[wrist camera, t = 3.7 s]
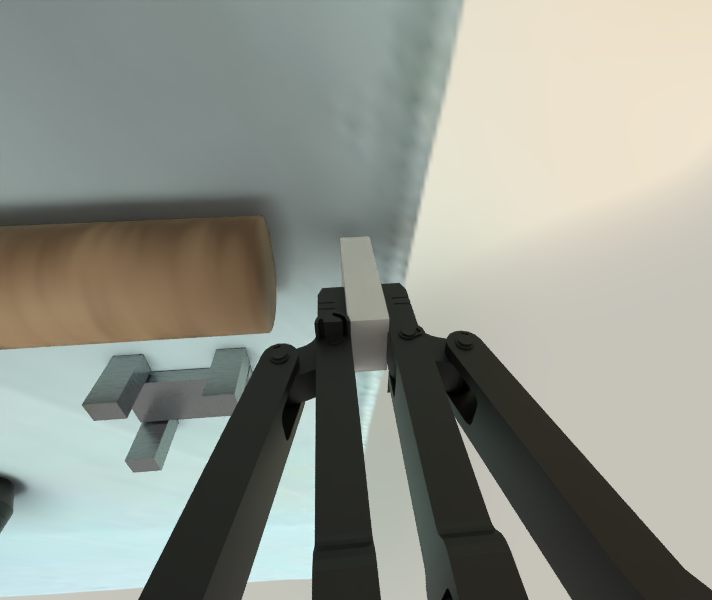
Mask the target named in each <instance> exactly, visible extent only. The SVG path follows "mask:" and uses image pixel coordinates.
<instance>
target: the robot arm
mask: <svg viewBox="0 0 712 600" xmlns="http://www.w3.org/2000/svg"><path fill="white" fill-rule="evenodd" d="M340 247H341V270H342V287H335V288H322V290H321V291H320V293H319V294H318V317H317V318H316V320H315V323H314V324H315V333H316V338H315V339H314V340H313V341H312V342H311V343H310V344H308V345H306V346H303V347H301V348H297V349H296V348H295V347H293V346H292V345H289V344H276V345H273V346H271V347H269V348H268V349H266V350H265V351H264V353H263V354H262V356H261V358H260V360H259V362H258V364H257V366H256V368H255V369H254V371H253V373H252V375H251V377H250V379H249V381H248V383H247V385H246V387H245V389H244V391H243V393H242V395H241V397H240V399H239V401H238V403H237V405H236V407H235V409H234V411H233V413H232V415H231V417H230V419H229V421H228V423H227V425H226V427H225V429H224V431H223V433H222V435H221V437H220V439H219V441H218V443H217V445H216V447H215V449H214V451H213V453H212V455H211V457H210V459H209V461H208V463H207V464H206V466H205V468H204V470H203V472H202V474H201V476H200V478H199V480H198V482H197V484H196V486H195V488H194V490H193V492H192V494H191V496H190V498H189V500H188V502H187V504H186V506H185V508H184V510H183V512H182V514H181V516H180V518H179V520H178V522H177V524H176V526H175V528H174V530H173V532H172V534H171V536H170V538H169V540H168V542H167V544H166V546H165V548H164V550H163V552H162V554H161V556H160V558H159V560H158V561H157V563H156V565H155V567H154V569H153V571H152V573H151V575H150V577H149V579H148V581H147V583H146V585H145V587H144V589H143V591H142V593H141V596H140V597H139V599H138V600H241V599H242V596H243V593H244V590H245V587H246V584H247V581H248V578H249V575H250V572H251V568H252V565H253V562H254V559H255V556H256V553H257V550H258V547H259V544H260V541H261V538H262V534H263V531H264V528H265V525H266V522H267V519H268V516H269V513H270V510H271V507H272V504H273V501H274V497H275V494H276V491H277V488H278V485H279V482H280V479H281V476H282V473H283V470H284V467H285V463H286V460H287V457H288V454H289V451H290V448H291V445H292V442H293V439H294V436H295V433H296V430H297V426H298V423H299V420H300V417H301V414H302V411H303V408H304V405H305V401H307V400H310V399H312V398H315V397H316V448H315V546H314V551H313V566H312V600H381V596H380V588H379V578H378V569H377V560H376V553H375V547H374V542H373V536H372V528H371V519H370V509H369V500H368V491H367V481H366V472H365V463H364V453H363V444H362V435H361V425H360V416H359V407H358V397H357V388H356V379H355V372H362V371H376V370H387V365H388V369H389V376H388V377H389V378H388V392H391V397H392V402H393V407H394V412H395V417H396V423H397V428H398V433H399V438H400V442H401V448H402V454H403V459H404V464H405V469H406V474H407V479H408V484H409V489H410V495H411V500H412V505H413V510H414V515H415V521H416V526H417V531H418V536H419V541H420V546H421V551H422V556H423V562H424V567H425V575H426V591H427V599H428V600H528V597H527V594H526V591H525V589H524V586H523V583H522V581H521V578H520V575H519V572H518V569H517V567H516V564H515V561H514V558H513V556H512V553H511V551H510V548H509V546H508V544H507V541H506V540H505V538H504V537H503V535H502V534H501V533H500V532H499V531H497V530H496V529H495V528H494V526H493V525H492V523H491V520H490V517H489V514H488V512H487V509H486V506H485V503H484V500H483V497H482V494H481V491H480V489H479V486H478V483H477V480H476V477H475V474H474V471H473V469H472V466H471V463H470V460H469V457H468V454H467V451H466V448H465V445H464V443H463V440H462V437H461V434H460V431H459V428H458V425H457V422H456V420H455V418H456V419H457V421H458V423H459V424H460V426H461V427H462V429H463V430H464V432H465V433H466V435H467V437H468V438H469V440H470V441H471V443H472V444H473V446H474V447H475V449H476V450H477V452H478V454H479V455H480V457H481V458H482V460H483V461H484V463H485V465H486V466H487V468H488V469H489V471H490V472H491V474H492V476H493V477H494V479H495V480H496V482H497V483H498V485H499V486H500V488H501V489H502V491H503V493H504V494H505V496H506V497H507V499H508V500H509V502H510V504H511V505H512V507H513V508H514V510H515V511H516V513H517V514H518V516H519V518H520V519H521V521H522V522H523V524H524V525H525V527H526V529H527V530H528V532H529V533H530V535H531V536H532V538H533V539H534V541H535V542H536V544H537V545H538V547H539V549H540V550H541V552H542V554H543V555H544V556H545V558H546V559H547V561H548V563H549V564H550V566H551V567H552V569H553V570H554V572H555V574H556V575H557V577H558V578H559V580H560V582H561V583H562V585H563V586H564V588H565V589H566V591H567V593H568V594H569V596H570V597H571V599H572V600H712V590H711V589H710V588H708V587H707V586H706V585H704V584H703V583H702V582H701V581H699V580H698V579H697V578H696V577H694V576H693V575H691V574H690V573H689V572H688V571H687V570H685V569H684V568H683V567H682V566H681V564H680V563H679V562H678V561H677V560H676V559H675V558H674V556H673V555H672V554H671V553H670V552H669V551H668V550H667V548H665V546H664V545H663V544H662V543H661V542H660V541H659V539H658V538H657V537H656V536H655V535H654V534H653V533H652V532H651V530H649V528H648V527H647V526H646V525H645V524H644V523H643V521H642V520H641V519H640V518H639V517H638V516H637V515H636V514H635V512H634V511H633V510H632V509H631V508H630V507H629V506H628V505H627V504H626V502H624V500H623V499H622V498H621V497H620V496H619V495H618V493H617V492H616V491H615V490H614V489H613V488H612V487H611V485H610V484H609V483H608V482H607V481H606V480H605V479H604V478H603V476H602V475H601V474H600V473H599V472H598V471H597V470H596V469H595V468H594V467H593V465H592V464H591V463H590V462H589V461H588V460H587V459H586V457H585V456H584V455H583V454H582V453H581V452H580V451H579V450H578V448H577V447H576V446H575V445H574V444H573V443H572V442H571V441H570V439H569V438H568V437H567V436H566V435H565V434H564V433H563V432H562V430H561V429H560V428H559V427H558V426H557V425H556V424H555V423H554V421H553V420H552V419H551V418H550V417H549V416H548V415H547V414H546V413H545V411H544V410H543V409H542V408H541V407H540V406H539V404H538V403H537V402H536V401H535V400H534V399H533V398H532V397H531V395H529V393H528V392H527V391H526V390H525V389H524V388H523V386H522V385H521V384H520V383H519V382H518V381H517V380H516V379H515V377H514V376H512V374H511V373H510V372H509V371H508V370H507V368H506V367H505V366H504V365H503V364H502V363H501V362H500V361H499V359H498V358H497V357H496V356H495V355H494V354H493V353H492V352H491V351H490V349H489V348H488V347H487V346H486V345H485V344H484V343H483V341H482V340H481V339H480V338H479V337H477V336H476V335H475V334H472V333H470V332H466V331H455V332H453V333H450V334H449V336H448V337H447V339H445V338H438V337H434V336H431V335H428V334H426V333H425V331H424V330H423V328H422V327H420V326H418V324H417V321H416V318H415V315H414V312H413V309H412V306H411V304H410V300H409V298H408V294H407V291H406V289H405V288H404V287H403V286H402V285H401V284H400V283H391V284H381V282H380V278H379V274H378V270H377V266H376V262H375V257H374V253H373V249H372V245H371V241H370V237H369V236H366V237H346V238H340ZM454 416H455V417H454Z"/></svg>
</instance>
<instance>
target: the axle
mask: <svg viewBox="0 0 712 600" xmlns="http://www.w3.org/2000/svg"><path fill="white" fill-rule="evenodd" d="M275 312H276V275H275V264H274V258H273V253H272V247H271V241H270V235H269V230H268V227H267V224H266V222H265V220H264V218H263V217H262V216H261V215H254V216H230V217H207V218H183V219H160V220H137V221H113V222H90V223H66V224H43V225H19V226H0V350H2V349H18V348H34V347H50V346H66V345H83V344H99V343H115V342H131V341H147V340H163V339H179V338H196V337H212V336H228V335H244V334H260V333H270V332H271V330H272V328H273V325H274V320H275Z"/></svg>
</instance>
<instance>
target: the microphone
mask: <svg viewBox="0 0 712 600" xmlns="http://www.w3.org/2000/svg"><path fill="white" fill-rule="evenodd" d="M12 514H13V484H12V483H11V482H10V481H9V480H7V479H4V478H1V477H0V533H1V531H2V530H3V528H4V526H5V525H6V523H7V522H8V520H9V519H10V517H11V516H12Z"/></svg>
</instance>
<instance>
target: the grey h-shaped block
mask: <svg viewBox="0 0 712 600" xmlns="http://www.w3.org/2000/svg"><path fill="white" fill-rule="evenodd" d="M249 365H250V363H249V359H248V356H247V352H246V348H237V349H221V350H216V353H215V356H214V359H213V362H212V365H211V368H206V369H191V370H176V371H161V372H150V371H151V369H150V367H149V366H148V364H147V362H146V360H145V358H144V356H143V355H128V356H113V357H112V358H111V360H110V362H109V363H108V365H107V366H106V368H105V369H104V371H103V372H102V374H101V376H100V377H99V379H98V380H97V382H96V383H95V385H94V387H93V388H92V390H91V391H90V393H89V394H88V396H87V398H86V399H85V401H84V402H83V404H82V406H83V407H84V408H85V410H86V411H87V412H88V414H89V415H90V416H91V418H92V419H93V420H94V421H98V420H111V419H125V418H127V417H128V415H129V413H130V411H131V409H133V411H134V413H135V414H136V416H137V417H138V419H139V420H140V422H142V424H141V426H140V429H139V431H138V433H137V435H136V437H135V440H134V442H133V444H132V446H131V448H130V451H129V453H128V455H127V457H126V459H125V462H126V463H127V465H128V466H129V467H130V469H131V470H132V471H133V473H134V472H146V471H158V470H162V467H163V465H164V462H165V459H166V456H167V454H168V451H169V448H170V445H171V443H172V440H173V437H174V434H175V431H176V429H177V426H178V421H177V420H179V419H192V418H205V417H219V416H231V415H232V413H233V411H234V409H235V407H236V405H237V403H238V401H239V399H240V397H241V395H242V393H243V391H244V389H245V387H246V385H247V383H248V381H249V379H250V377H251V375H252V370H251V367H250V366H249Z"/></svg>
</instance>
